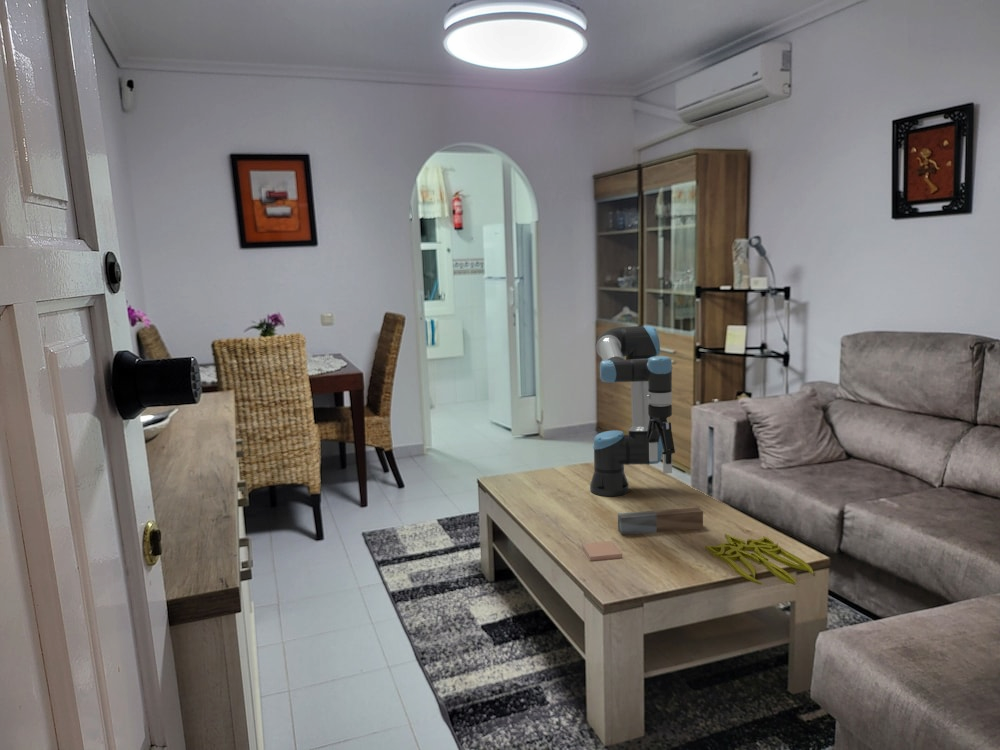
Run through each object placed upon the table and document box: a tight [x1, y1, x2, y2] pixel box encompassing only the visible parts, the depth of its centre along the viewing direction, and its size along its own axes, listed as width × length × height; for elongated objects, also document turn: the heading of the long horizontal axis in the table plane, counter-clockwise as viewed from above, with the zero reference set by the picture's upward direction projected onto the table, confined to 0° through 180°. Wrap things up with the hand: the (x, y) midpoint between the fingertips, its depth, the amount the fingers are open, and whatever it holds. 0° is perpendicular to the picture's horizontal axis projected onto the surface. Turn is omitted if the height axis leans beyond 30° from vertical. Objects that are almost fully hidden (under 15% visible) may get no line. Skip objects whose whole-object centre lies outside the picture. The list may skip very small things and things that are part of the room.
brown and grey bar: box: [617, 506, 704, 536], centre depth 226 cm, size 4×28×6 cm, turn 96°
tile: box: [581, 540, 623, 562], centre depth 211 cm, size 10×2×10 cm
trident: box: [705, 533, 815, 586], centre depth 201 cm, size 22×2×35 cm
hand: (660, 466), depth 223 cm, fingers open, 13 cm apart
